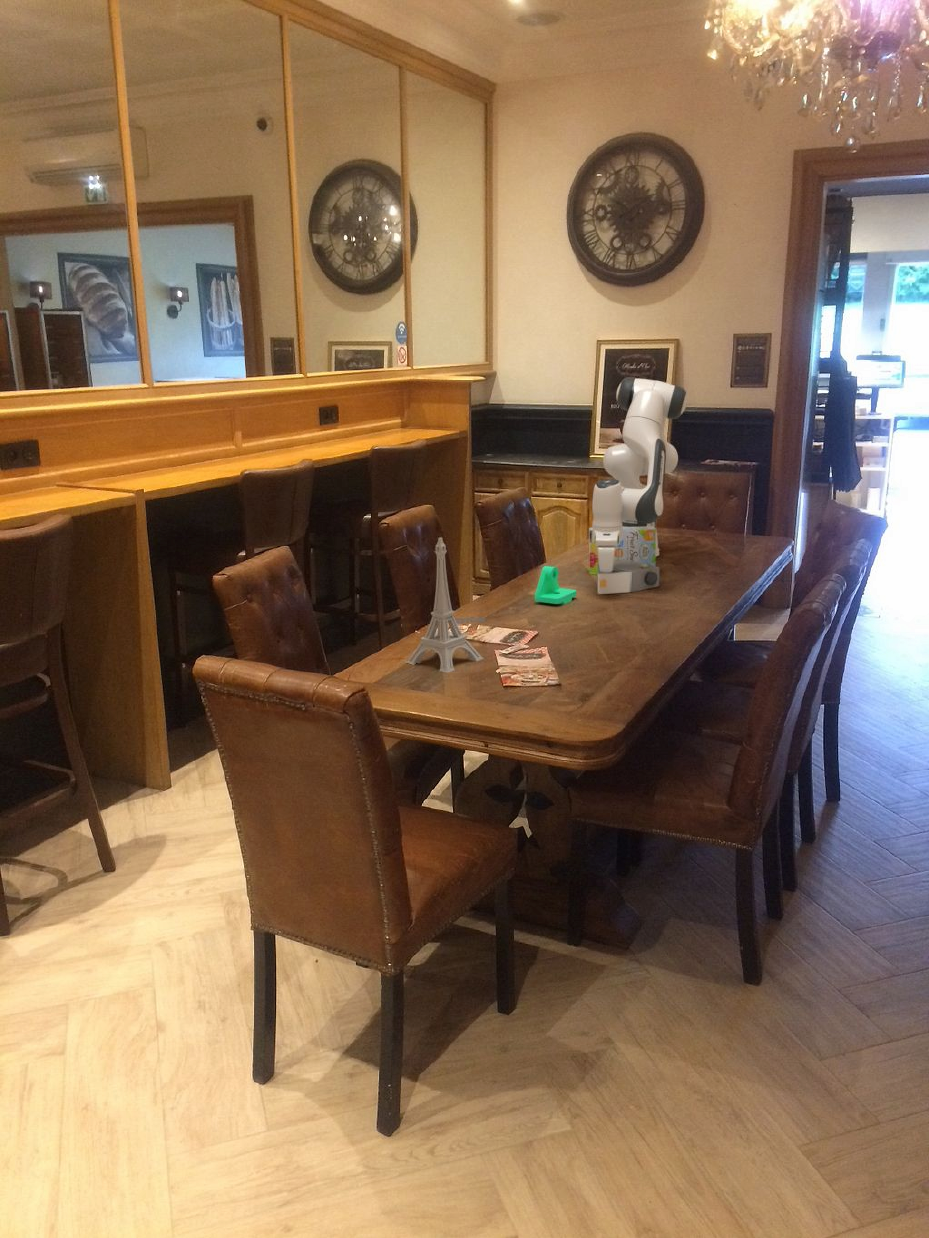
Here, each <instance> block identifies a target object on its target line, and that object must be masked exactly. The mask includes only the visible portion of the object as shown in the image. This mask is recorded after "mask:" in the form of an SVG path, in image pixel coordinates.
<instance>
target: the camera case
mask: <svg viewBox="0 0 929 1238" xmlns="http://www.w3.org/2000/svg"><path fill="white" fill-rule="evenodd" d="M619 572H632V592H633V593H634V592H637V591H639V592H640V591H643V590H649V589H653V588H658V586H659V587H660V566H656V565H655V566H651V565H647V564H643V563H638V562H634V561H630V560H625V559H622V560H617V561H614V564H613V570H612V572H610V573H619ZM603 573H604V572H601V571H600V568H599V564H597V575H596V576H597V580H596V583H597V584H598V574H603Z"/></svg>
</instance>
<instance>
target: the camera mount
mask: <svg viewBox="0 0 929 1238" xmlns="http://www.w3.org/2000/svg"><path fill="white" fill-rule="evenodd" d="M558 578H559V569H558V567H557V566H550V565H549V566H548V565H545V566H544V565H543V567H542V569H541V572H540V576H539V578H538V582H537V586H536V590H535V594H534V602H537V603H538V602H540V603H546V604H552V605H566V604H568V603H570V602H572V601H573V598H575V597H577V590H576V589H570V588H562V587H560V585H559V583H558Z"/></svg>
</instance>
